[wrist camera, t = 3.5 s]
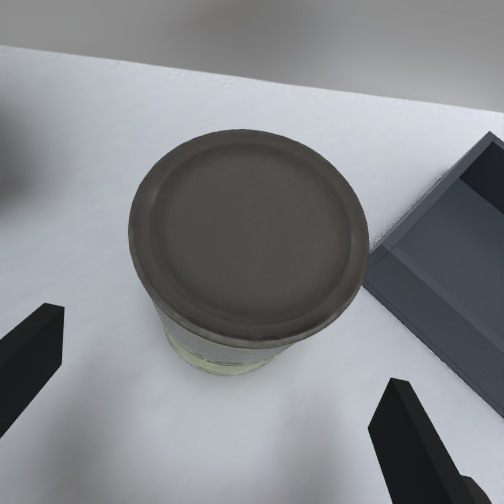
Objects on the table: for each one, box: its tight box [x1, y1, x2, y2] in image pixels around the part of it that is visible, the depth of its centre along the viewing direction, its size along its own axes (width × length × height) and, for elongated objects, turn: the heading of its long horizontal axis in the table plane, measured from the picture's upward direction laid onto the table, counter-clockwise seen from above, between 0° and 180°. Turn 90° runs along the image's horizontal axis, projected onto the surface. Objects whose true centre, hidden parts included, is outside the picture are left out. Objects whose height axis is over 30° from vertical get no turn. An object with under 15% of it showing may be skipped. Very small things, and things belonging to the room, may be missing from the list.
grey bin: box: [362, 131, 504, 418], centre depth 29 cm, size 17×17×6 cm
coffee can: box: [128, 129, 369, 376], centre depth 22 cm, size 10×10×14 cm
